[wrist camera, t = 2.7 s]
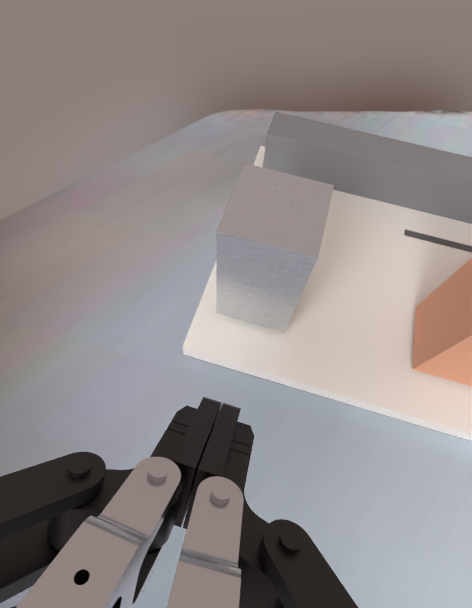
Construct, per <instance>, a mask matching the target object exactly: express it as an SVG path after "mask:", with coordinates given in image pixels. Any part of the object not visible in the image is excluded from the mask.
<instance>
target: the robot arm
mask: <svg viewBox="0 0 472 608" xmlns="http://www.w3.org/2000/svg"><path fill="white" fill-rule="evenodd" d="M220 408H221V409H220ZM240 409H241V408H238V407H234V406H231V405H228V404H225V403H223V404H222V407H221V402H218V401H215V400H212V399H208V398H205V397H203V399H202V401H201V403H200V405H199V407H198V409H195V408H192V407H189V406H185V407H184V408H182V409H181V410H179V411H177V413H176V414H175V416H174V418H173V419H172V421H171V423H170V424H169V426H168V428H167V430H166V431H165V433H164V435H163V436H162V438H161V440H160V441H159V443H158V445H157V446H156V448H155V450H154V452H153V453H152V455H151V457H150V458H147V459H144V460H142V461H141V462H140V463H139V464H138V465H137V466H136V467H135V468H134V469H130V470H108V469H106V466H105V463H104V461H103V459H102V458H101V457H99V456H98V455H96V454H93V453H90V452H77V453H72V454H69V455H66V456H63V457H60V458H57V459H54V460H51V461H48V462H44V463H41V464H38V465H35V466H32V467H29V468H26V469H23V470H20V471H17V472H14V473H11V474H8V475H4V476H1V477H0V603H1V602H3V601H5V600H7V599H9V598H11V597H12V596H14V595H16V594H18V593H20V592H22V591H24V590H25V589H27V588H29V587H31V586H33V587H32V588H31V589H30V590H29V592H28V593H27V594H26V596H25V597H24V598H23V599H22V601H21V602H20V603H19V605H18V606H15V607H12V608H136V606H137V604H138V602H139V600H140V598H141V596H142V594H143V592H144V590H145V587H146V585H147V583H148V581H149V579H150V577H151V575H152V573H153V571H154V569H155V567H156V565H157V562H158V560H159V558H160V556H161V554H162V552H163V550H164V547H165V543H166V541H167V540H168V538H169V535H170V533H171V530H172V528H173V525H176V526H179V527H181V525H182V522H183V520H184V517H185V514H186V517H185V521H184V525H183V528H185V529H187V531H186V535H185V539H184V543H183V547H182V550H181V554H180V558H179V562H178V566H177V570H176V574H175V578H174V582H173V586H172V589H171V593H170V597H169V601H168V605H167V608H358V607H357V605H356V604H355V602H354V601H353V600H352V598H351V597H350V595H349V594H348V592H347V591H346V589H345V588H344V586H343V585H342V583H341V582H340V581H339V579H338V578H337V576H336V575H335V573H334V572H333V570H332V569H331V567H330V566H329V564H328V563H327V562H326V560H325V559H324V557H323V556H322V554H321V553H320V551H319V550H318V548H317V547H316V545H315V544H314V543H313V541H312V540H311V538H310V537H309V535H308V534H307V533H306V532H305V531H304V530H303V529H302V528H301V527H300V526H299V525H297V524H295V523H293V522H291V521H288V520H283V519H281V520H275V521H272V522H271V523H267V522H266V521H264V520H263V519H261V518H260V517H259V516H257V515H256V514H255V513H254V512H253V511H252V510H251V509H250V507H249V506H248V504H247V502H246V500H245V496H244V487H245V482H246V477H247V471H248V466H249V461H250V455H251V450H252V445H253V439H254V435H253V432H252V429H251V426H249V425H246V424H243V423H240V422H237V420H238V416H239V413H240ZM187 509H188V510H187ZM186 511H187V513H186Z"/></svg>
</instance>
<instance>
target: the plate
mask: <svg viewBox="0 0 472 608" xmlns="http://www.w3.org/2000/svg"><path fill="white" fill-rule="evenodd" d="M253 165H255V166H259V167H263V168H267V169H271V170H275V171H279V172H283V173H287V174H291V175H295V176H299V177H303V178H307V179H311V180H315V181H319V182H323V183H328V184H332V185H334V188H333V192H332V197H331V201H330V206H329V211H328V215H327V220H326V224H325V229H324V234H323V238H322V243H321V247H320V252H319V257H318V260H317V262H316V264H315V266H314V268H313V271H312V273H311V275H310V277H309V279H308V281H307V284H306V286H305V288H304V290H303V292H302V295H301V297H300V299H299V301H298V303H297V306H296V308H295V310H294V312H293V314H292V317H291V319H290V321H289V323H288V325H287V327H286V330H285V332H281V331H277V330H274V329H270V328H267V327H263V326H260V325H256V324H253V323H249V322H246V321H242V320H239V319H235V318H232V317H229V316H225V315H222V314H218V313H216V270H217V259H216V262H215V265H214V267H213V270H212V272H211V275H210V277H209V280H208V283H207V285H206V288H205V290H204V293H203V295H202V298H201V300H200V303H199V306H198V308H197V311H196V313H195V316H194V318H193V321H192V324H191V326H190V329H189V331H188V334H187V336H186V339H185V342H184V344H183V347H182V348H183V353H184V355H187V356H190V357H194V358H197V359H200V360H204V361H207V362H210V363H214V364H217V365H220V366H224V367H227V368H230V369H234V370H237V371H240V372H244V373H247V374H250V375H254V376H257V377H260V378H264V379H267V380H270V381H274V382H277V383H280V384H284V385H287V386H290V387H294V388H297V389H300V390H304V391H307V392H310V393H313V394H317V395H320V396H323V397H327V398H330V399H333V400H337V401H340V402H343V403H347V404H350V405H353V406H357V407H360V408H363V409H367V410H370V411H373V412H377V413H380V414H383V415H387V416H390V417H393V418H397V419H400V420H403V421H407V422H410V423H413V424H417V425H420V426H423V427H427V428H430V429H433V430H437V431H440V432H443V433H447V434H450V435H453V436H457V437H460V438H463V439H467V440H470V441H472V386H469V385H465V384H462V383H458V382H455V381H451V380H448V379H444V378H441V377H437V376H434V375H430V374H427V373H423V372H420V371H416V370H413V352H414V331H415V310H416V306H417V305H419V304H420V303H421V302H422V301H423V300H424V299H425V298H426V297H428V296H429V295H430V294H431V293H432V292H433V291H434V290H436V289H437V288H438V287H439V286H440V285H441V284H442V283H443V282H445V281H446V280H447V279H448V278H449V277H450V276H451V275H453V274H454V273H455V272H456V271H457V270H458V269H459V268H461V267H462V266H463V265H464V264H465V263H466V262H467V261H468V260H470V259H471V258H472V158H471V157H467V156H463V155H459V154H454V153H450V152H446V151H441V150H437V149H433V148H428V147H424V146H420V145H415V144H411V143H407V142H403V141H398V140H394V139H390V138H385V137H381V136H377V135H372V134H368V133H364V132H359V131H355V130H351V129H347V128H342V127H338V126H334V125H329V124H325V123H321V122H316V121H312V120H308V119H303V118H299V117H295V116H291V115H286V114H282V113H278V112H276V113H275V115H274V118H273V121H272V123H271V126H270V128H269V131H268V134H267V141H266V147H264V146H260V149H259V151H258V154H257V157H256V159H255V162H254V164H253Z"/></svg>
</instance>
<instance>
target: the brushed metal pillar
mask: <svg viewBox="0 0 472 608" xmlns="http://www.w3.org/2000/svg"><path fill="white" fill-rule="evenodd" d="M333 188H334V185H332V184H328V183H323V182H319V181H315V180H311V179H307V178H303V177H299V176H295V175H291V174H287V173H283V172H279V171H275V170H271V169H267V168H263V167H259V166H255V165H251V164H247V163H244V165H243V168H242V170H241V173H240V175H239V178H238V180H237V183H236V185H235V188H234V190H233V192H232V195H231V197H230V200H229V202H228V205H227V207H226V210H225V212H224V214H223V217H222V219H221V222H220V224H219V227H218V229H217V270H216V313H218V314H222V315H225V316H229V317H232V318H235V319H239V320H242V321H246V322H249V323H253V324H256V325H260V326H263V327H267V328H270V329H274V330H277V331H281V332H285V330H286V327H287V325H288V323H289V321H290V319H291V317H292V314H293V312H294V310H295V308H296V306H297V303H298V301H299V299H300V297H301V295H302V292H303V290H304V288H305V286H306V284H307V281H308V279H309V277H310V275H311V273H312V271H313V268H314V266H315V264H316V262H317V260H318V257H319V252H320V247H321V243H322V238H323V234H324V229H325V224H326V220H327V215H328V211H329V206H330V201H331V197H332V192H333Z"/></svg>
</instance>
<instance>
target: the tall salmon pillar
mask: <svg viewBox="0 0 472 608" xmlns="http://www.w3.org/2000/svg"><path fill="white" fill-rule="evenodd" d="M413 370H416V371H420V372H423V373H427V374H430V375H434V376H437V377H441V378H444V379H448V380H451V381H455V382H458V383H462V384H465V385H469V386H472V258H471V259H470V260H468V261H467V262H466V263H465V264H464V265H463V266H462V267H461V268H459V269H458V270H457V271H456V272H455V273H454V274H453V275H451V276H450V277H449V278H448V279H447V280H446V281H445V282H443V283H442V284H441V285H440V286H439V287H438V288H437V289H436V290H434V291H433V292H432V293H431V294H430V295H429V296H428V297H426V298H425V299H424V300H423V301H422V302H421V303H420V304H419V305H417V306H416V310H415V331H414V352H413Z"/></svg>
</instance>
